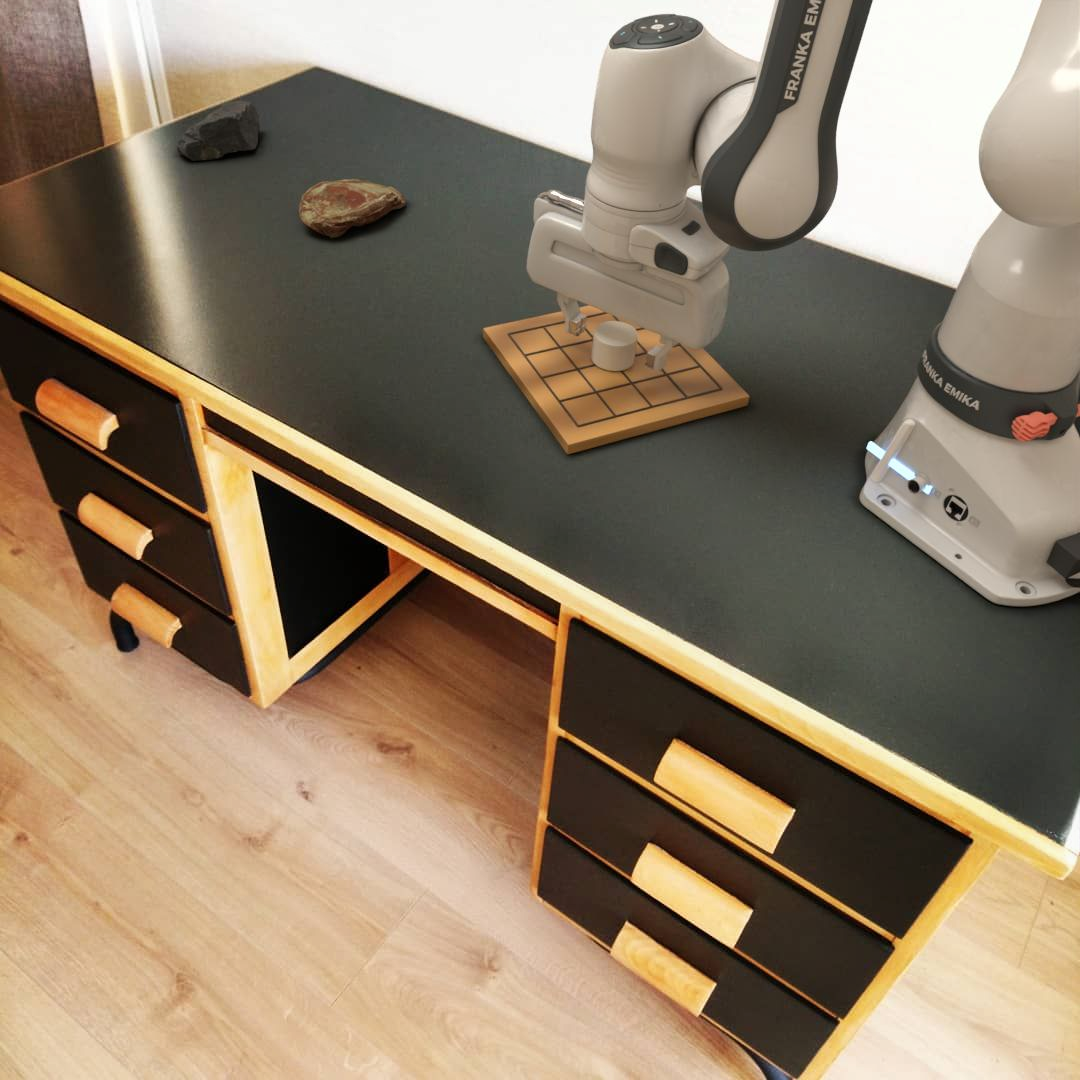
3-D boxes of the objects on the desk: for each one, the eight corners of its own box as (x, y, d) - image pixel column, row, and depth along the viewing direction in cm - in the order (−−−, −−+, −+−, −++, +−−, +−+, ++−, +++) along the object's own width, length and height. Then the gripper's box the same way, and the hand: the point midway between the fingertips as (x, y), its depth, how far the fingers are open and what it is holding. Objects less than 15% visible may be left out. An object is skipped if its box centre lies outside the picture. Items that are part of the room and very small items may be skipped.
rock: (179, 172, 122) (252, 155, 121) (160, 125, 119) (235, 107, 118) (201, 153, 131) (269, 137, 130) (184, 110, 127) (253, 93, 127)
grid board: (747, 405, 93) (750, 395, 92) (567, 454, 86) (568, 443, 85) (647, 301, 105) (649, 291, 104) (482, 337, 98) (483, 326, 97)
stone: (346, 186, 120) (344, 162, 118) (412, 204, 117) (411, 180, 115) (280, 228, 112) (276, 203, 110) (350, 249, 109) (347, 224, 107)
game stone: (642, 365, 94) (646, 340, 92) (603, 375, 93) (606, 349, 91) (621, 342, 97) (625, 317, 95) (583, 350, 96) (586, 325, 93)
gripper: (516, 195, 85) (511, 325, 95) (716, 271, 78) (688, 403, 88) (555, 172, 89) (546, 299, 99) (748, 242, 82) (718, 371, 92)
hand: (614, 348), depth 94 cm, fingers open, 8 cm apart
